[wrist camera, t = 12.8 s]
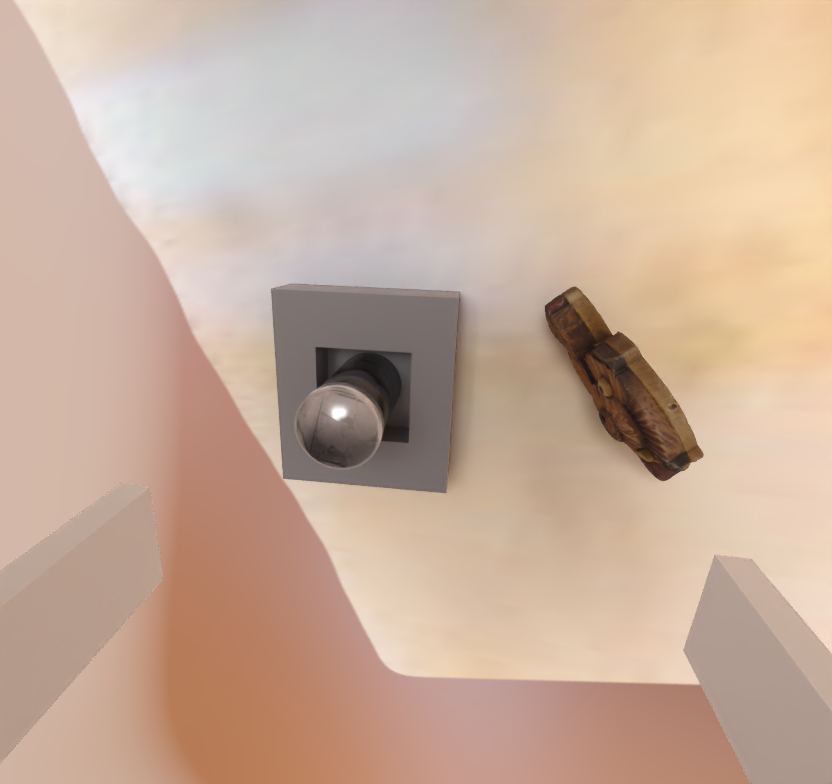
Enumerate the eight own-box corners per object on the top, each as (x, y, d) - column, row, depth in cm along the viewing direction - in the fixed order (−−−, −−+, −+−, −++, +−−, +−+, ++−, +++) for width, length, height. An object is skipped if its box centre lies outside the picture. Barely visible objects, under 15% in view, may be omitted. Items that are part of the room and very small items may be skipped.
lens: (335, 348, 40) (291, 385, 30) (403, 352, 39) (380, 390, 30) (337, 413, 41) (296, 466, 32) (402, 417, 41) (380, 473, 31)
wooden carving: (517, 314, 38) (531, 340, 28) (565, 276, 37) (596, 291, 27) (635, 460, 41) (684, 528, 31) (683, 429, 39) (750, 491, 30)
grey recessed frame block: (290, 283, 39) (271, 288, 35) (459, 291, 38) (458, 298, 34) (299, 457, 44) (283, 478, 40) (448, 470, 43) (446, 493, 39)
